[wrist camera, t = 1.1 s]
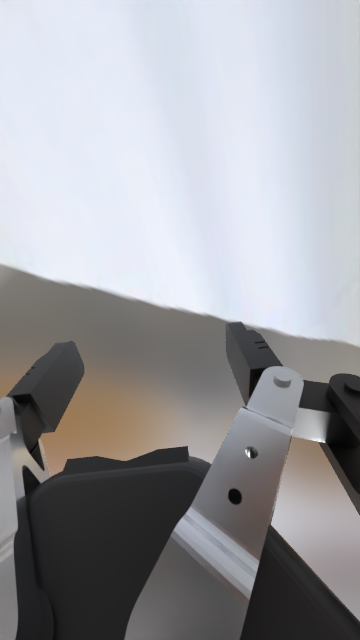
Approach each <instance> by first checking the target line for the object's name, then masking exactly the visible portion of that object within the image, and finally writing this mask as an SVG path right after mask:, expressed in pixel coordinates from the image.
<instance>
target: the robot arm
mask: <svg viewBox="0 0 360 640" xmlns="http://www.w3.org/2000/svg"><path fill="white" fill-rule="evenodd" d="M226 352H227V358H228V361H229V364H230V366H231V369H232V371H233V374H234V377H235V379H236V382H237V385H238V387H239V390H240V393H241V395H242V398H243V400H244V403H245V406H246V408H245V407H241V409H240V410H239V411H238V413H237V415H236V417H235V419H234V421H233V423H232V425H231V427H230V430H229V431H228V433H227V435H226V437H225V439H224V441H223V443H222V445H221V447H220V449H219V451H218V453H217V455H216V457H215V459H214V461H213V463H212V464H210V463H208V462H206V461H204V460H202V459H199V458H196V457H191V456H189V453H188V446H185V447H176V448H168V449H158V450H155V451H153V452H150V453H148V454H145V455H142V456H139V457H137V458H134V459H131V460H128V461H120V460H114V459H109V458H104V457H98V456H94V457H85V458H75V459H67V462H66V464H65V467H64V470H63V471H62V472H60V473H58V474H56V475H54V476H52V477H50V474H49V470H48V466H47V461H46V457H45V453H44V449H43V445H42V442H41V440H40V439H39V438H40V436H41V434H42V433H49V432H55V430H56V428H57V426H58V424H59V422H60V420H61V418H62V416H63V414H64V412H65V410H66V408H67V406H68V404H69V402H70V400H71V398H72V397H73V395H74V393H75V391H76V389H77V387H78V385H79V383H80V381H81V379H82V377H83V375H84V364H83V362H82V359H81V357H80V354H79V352H78V350H77V347H76V345H75V343H74V342H73V341H66V342H58V343H55V345H54V346H53V347H52V348H51V349H50V350H49V352H48V353H46V354H45V355H44V356H42V357H41V358H40V359H38V360H37V361H36V362H35V363H34V365H33V366H32V367H31V369H29V370H28V371H27V373H26V375H24V376H23V377H22V378H21V380H20V381H19V382H18V383H17V384H16V385H15V387H14V388H13V389H12V390H11V391H10V393H9V394H8V395H7V396H6V397H1V398H0V640H360V621H359V620H358V619H357V618H356V617H355V616H354V615H353V614H352V613H351V612H350V610H349V609H347V607H346V606H345V605H344V604H343V603H342V602H341V601H340V600H339V598H338V597H337V596H336V595H335V594H334V593H333V592H332V591H331V590H330V589H329V588H328V587H327V586H326V584H325V583H324V582H323V581H322V580H321V579H320V578H319V577H318V576H317V575H316V574H315V573H314V571H313V570H312V569H311V568H310V567H309V566H308V565H307V564H306V563H305V561H304V560H303V559H302V558H301V557H300V556H299V555H298V554H297V553H296V552H295V551H294V549H293V548H292V547H291V546H290V545H289V544H288V543H287V542H286V541H285V540H284V539H283V537H282V536H281V535H280V534H279V533H278V532H277V531H276V530H275V529H274V528H273V527H272V526H271V521H272V517H273V513H274V509H275V504H276V500H277V496H278V492H279V488H280V484H281V479H282V475H283V471H284V467H285V463H286V459H287V455H288V451H289V446H290V442H291V438H292V436H293V437H298V438H303V439H308V440H313V441H318V442H319V444H320V446H321V448H322V449H323V451H324V453H325V455H326V456H327V458H328V460H329V462H330V464H331V465H332V467H333V469H334V471H335V473H336V474H337V476H338V478H339V480H340V481H341V483H342V485H343V486H344V488H345V490H346V492H347V493H348V495H349V497H350V499H351V501H352V503H353V504H354V506H355V508H356V510H357V512H358V513H359V515H360V377H359V376H356V375H351V374H336V375H334V376H332V377H331V378H330V381H329V383H321V382H313V381H306V380H303V379H302V378H301V376H300V375H299V374H298V373H296V372H295V371H293V370H291V369H289V368H286V367H283V365H282V364H281V363H280V361H279V360H278V359H277V357H276V356H275V354H274V353H273V351H272V350H271V349H270V348H269V346H268V344H267V343H266V342H265V340H264V339H263V337H262V336H261V335H260V334H259V333H257V332H256V331H254V330H246V328H245V327H244V325H243V323H242V322H232V323H227V324H226Z"/></svg>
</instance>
